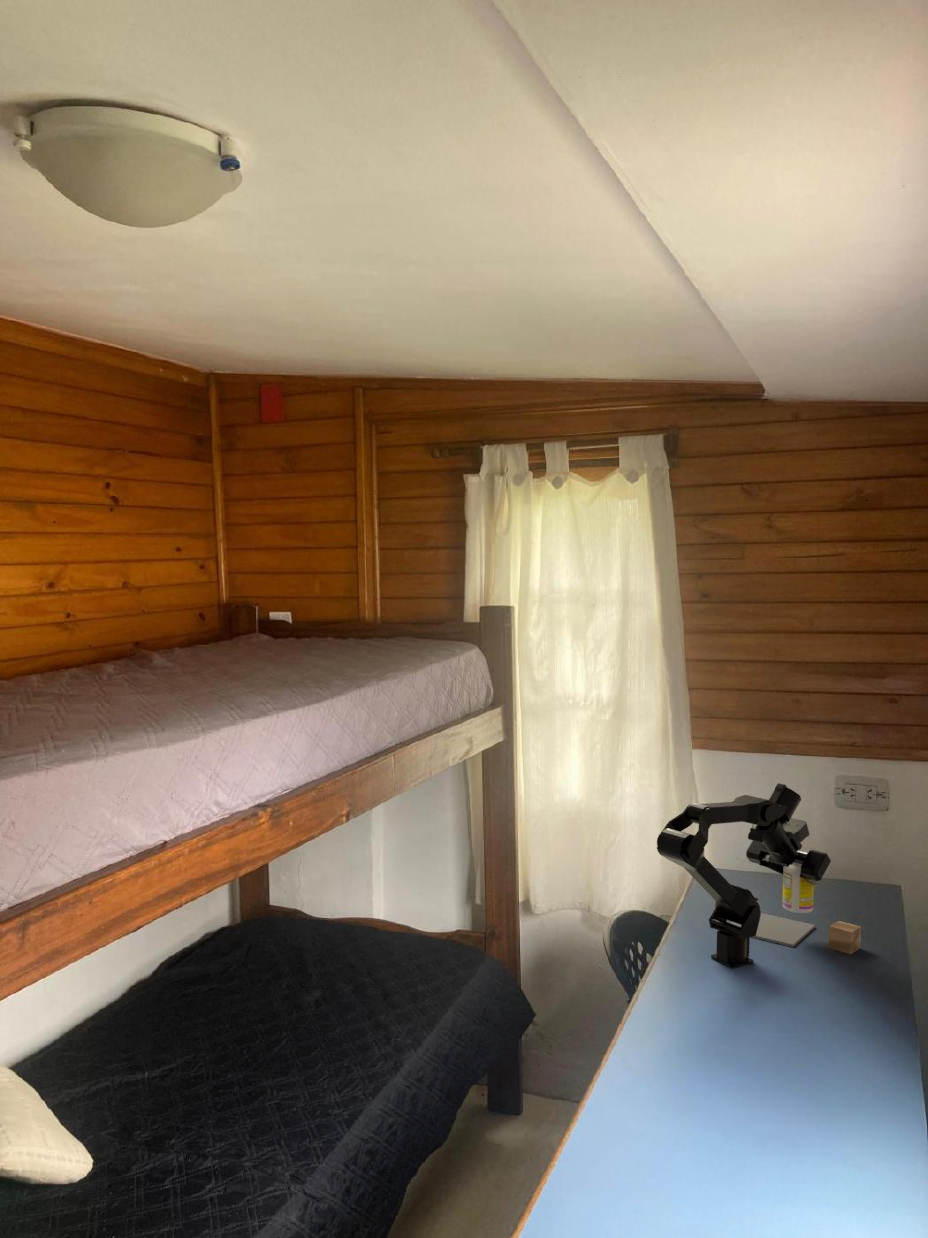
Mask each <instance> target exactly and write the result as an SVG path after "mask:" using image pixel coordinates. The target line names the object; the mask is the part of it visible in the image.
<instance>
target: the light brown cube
mask: <svg viewBox="0 0 928 1238" xmlns="http://www.w3.org/2000/svg"><path fill="white" fill-rule="evenodd" d="M861 935H862V926H859V925H856V924H853V923H848V922H845V921H840V920H837V921H836V922H834V923H832V924H830V925H828V946H827V947H828V948H827V949H831V950H835V951H837V952H841V953H845V954H848V955H852V954H854V953H855V952H857V951H859V950H860V949H861V940H862V939H861Z"/></svg>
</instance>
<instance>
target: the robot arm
mask: <svg viewBox="0 0 928 1238" xmlns="http://www.w3.org/2000/svg"><path fill="white" fill-rule="evenodd" d="M800 802H802V796H801V795H800V794H799V793H797V792H796V791H795V790H794V789H791V788H790V787H788V786H787V785H786V784H784V783H780V782H778V783H777V784H776V786H775V787H774V789H773V791H772V794H771V796H770V797H769V798H768V799H767V798H766V799H765V798H762V797H757V796H752V795H748V794H744V795H741V796H738V797H735V798H734V800H733V801H725V802H724V801H723V802H709V803H697V802H694V803H689V804H688V805H687V806H686V808H684V810H683V811H682V812H681V813H679V814H678V815H677V816H675V817H674V818H671V820H669V821H668V822H667V823H666V824H665V826H664V827H663V829H662V830H661V832H660V833H659V835H658V836H657V839H656V850H657V853H658V854H659V855H661V856H662V857H663V858H665V859H667V860H668V861H670V862H673V863H674V864H676V865H678V866H680V867H683V869H685V871H687V873H688V874H689V875H690V876H691V877H692V878H693V880H695V881H696V883H698V884H699V885H700V886H701V887H702V889H704V890H705V892H706V893H707V894H709V896H711V898H713V899H714V901H715V904H714V910H713V911H712V913H711V915H710V917H709V918H708V923H709V927H710V929H713V930H716V953H713V954H711V955H710V958H711V959H714V960H715V961H718V962H720V963H721V964H723V965H725V966H727V967H730V968H738V967H741V966H745V965H749V964H753V963H754V962H755V961H754V959H753V958H750V940H751V939H750V938H752V937H753V936H756V933H757V929H758V925H759V920H760V916H761V913H762V912H761V911H762V910H761V907H760V904H759V903H758V901H759V898H757V897H755V896H754V895H753V893H752V891H750V890H749V888H746V887H745V888H744V887H741V886H738V885H737V884H732V883H730V882H728V880H727V879H726V878H725V877H724V876H723V875H722V874H721V873H720V871H718V870H717V869H716V867H715V866H714V865H713V864H712V863H711V862H710V861H709V860H708V859H707V858H706V857H705V848H706V845H707V844H708V841H709V829H710V827H711V826H712V825H720V824H730V823H731V824H732V823H746V824H747V823H748V824H751V825H752V826H751V827H750V828H749V832H748V834H747V839H748V840H749V841H751V842H750V844H749V846H748V848H747V849H746V851H745V856H746V859H748V861H749V862H750V863H754V864H757V865H759V866H761V867H764V868H766V869H768V870H770V871H772V872H775V873H777V874H779V875H782V876H783V867H784V866H786V867H789V865H792V864H793V862H795V863H798V864H802V865H801V874H800V876H799V877H801V878H802V879H804V880H806V881H808V882H809V883H811V884H813V885H814V886H816V884H817V882H820V881H821V880H822V878H823V876H824V875H825V873H826V872H827V869H828V867H829V865H830V864H831V862H832V860H831V858H830V856H829V855H828V853H827V852H824V851H823V852H822V851H820V850H815V849H810V850H809V851H808V852H806V853H807V854H803V853H800V852H797V851H801V849H802V847H803V844H802V842H803V841H804V840H805V839H807V837H809V836H810V830H809V827H808V824H807V823H808V822H807V821H806V820H801V819H798V818H792V817H793V815H794V814H795V812H796V810H797V808H798V806H799V805H800ZM693 824H697V825H698V830H697V831H696V833H695V834H692V833H687V832H685V831H684V830H685V829H687V828H689V827H690V826H692V825H693ZM732 922H734V923H737V924H740V925H741V927H739V926H737V925H734V924H731V923H732Z"/></svg>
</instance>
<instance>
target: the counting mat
mask: <svg viewBox="0 0 928 1238" xmlns="http://www.w3.org/2000/svg"><path fill="white" fill-rule="evenodd" d="M730 923H731V924H734V925H737V926H739V927H741V925H740V924H737V923H734V922H732V921H731V922H730ZM815 928H816V925H815V924H811V923H807V922H803V921H799V920H795V919H790V918H785V917H780V916H776V915H771V914H767V913H763V912H761V916H760V920H759V925H758V929H757V933H756V936H753V937H751V938H752V939H757V940H761V941H766V942H769V943H773V944H777V943H778V945H782V946H787V947H790V948H794V947H795V946H797V945H798V944H799V943H800V942H801V941H802V940H803V939H804V938H805V937H806V936H807V935H808V934H810V932H812V931H813V930H814V929H815Z"/></svg>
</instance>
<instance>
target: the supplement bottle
mask: <svg viewBox="0 0 928 1238" xmlns="http://www.w3.org/2000/svg"><path fill="white" fill-rule="evenodd" d="M797 852H800V853H803V854H807V853H808V852H805V851H801V850H798V851H797ZM801 865H802V864H798V863H795V862H793V864H792V865H789V867H786V866H784V867H783V875H782V907H783V909H784V910H786V911H788V912H791V913H795V914H810V913H812V912H813V910H814V903H815V902H814V901H815V900H814V895H815V894H814V893H815V890H814V889H815V885H813V884H811V883H809V882H808V881H806V880H804V879H802V878H801V877H799V876H800V874H801Z"/></svg>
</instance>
